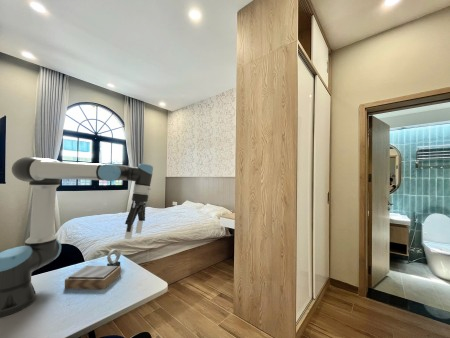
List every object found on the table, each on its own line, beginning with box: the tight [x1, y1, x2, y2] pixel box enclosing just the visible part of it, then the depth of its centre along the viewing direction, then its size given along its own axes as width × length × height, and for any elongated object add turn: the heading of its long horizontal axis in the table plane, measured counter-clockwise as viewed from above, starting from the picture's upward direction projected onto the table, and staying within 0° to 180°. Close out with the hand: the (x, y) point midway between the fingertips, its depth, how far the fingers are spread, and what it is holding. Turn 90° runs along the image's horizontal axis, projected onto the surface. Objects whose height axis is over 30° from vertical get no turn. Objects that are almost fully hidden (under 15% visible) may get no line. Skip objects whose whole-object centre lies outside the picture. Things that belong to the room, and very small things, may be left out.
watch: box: [106, 248, 122, 267], centre depth 117 cm, size 6×8×11 cm
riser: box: [64, 265, 122, 290], centre depth 102 cm, size 20×14×5 cm
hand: (133, 235), depth 98 cm, fingers open, 13 cm apart
